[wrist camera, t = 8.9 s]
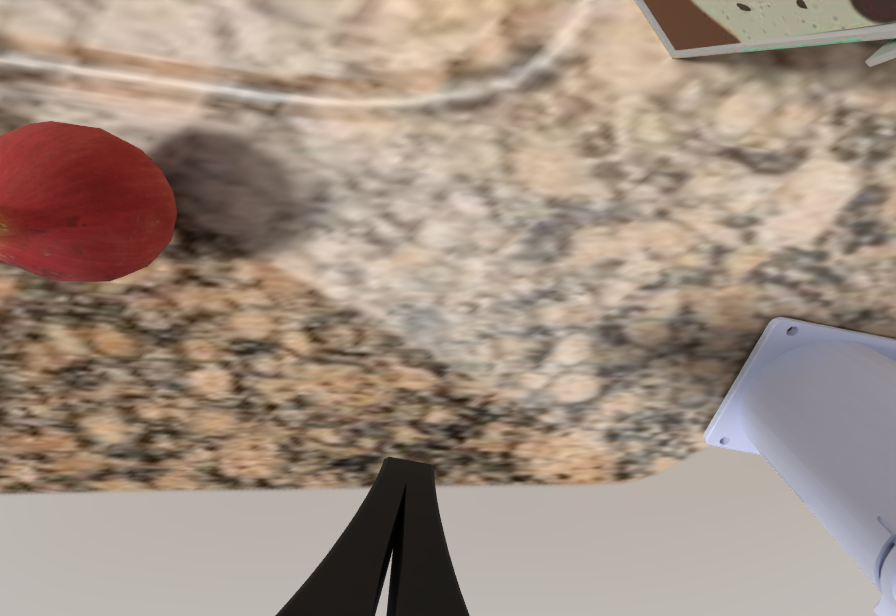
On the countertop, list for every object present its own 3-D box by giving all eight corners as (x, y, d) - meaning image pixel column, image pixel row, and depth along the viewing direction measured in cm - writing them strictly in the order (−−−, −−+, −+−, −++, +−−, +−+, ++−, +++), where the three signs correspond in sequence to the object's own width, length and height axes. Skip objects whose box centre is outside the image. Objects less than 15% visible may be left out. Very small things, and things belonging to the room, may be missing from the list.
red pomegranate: (198, 271, 21) (52, 352, 13) (81, 216, 20) (-144, 272, 13) (228, 163, 18) (72, 191, 11) (97, 96, 18) (-166, 79, 10)
